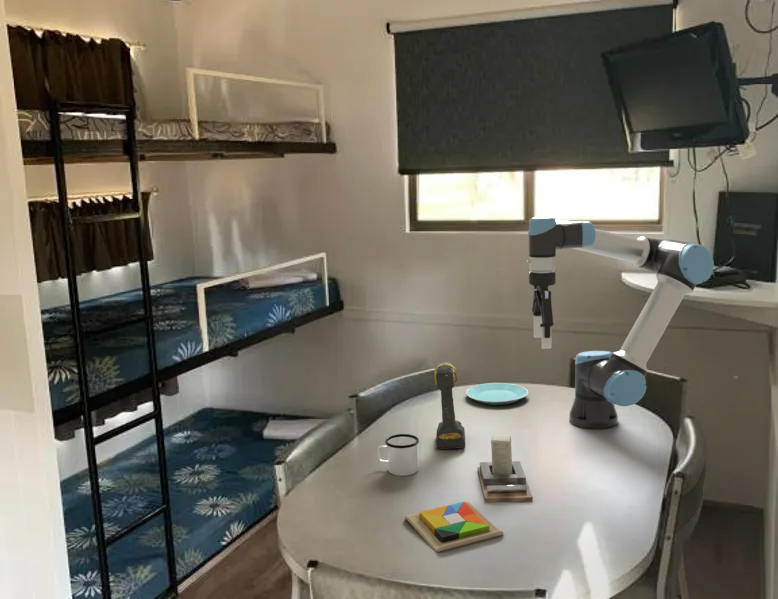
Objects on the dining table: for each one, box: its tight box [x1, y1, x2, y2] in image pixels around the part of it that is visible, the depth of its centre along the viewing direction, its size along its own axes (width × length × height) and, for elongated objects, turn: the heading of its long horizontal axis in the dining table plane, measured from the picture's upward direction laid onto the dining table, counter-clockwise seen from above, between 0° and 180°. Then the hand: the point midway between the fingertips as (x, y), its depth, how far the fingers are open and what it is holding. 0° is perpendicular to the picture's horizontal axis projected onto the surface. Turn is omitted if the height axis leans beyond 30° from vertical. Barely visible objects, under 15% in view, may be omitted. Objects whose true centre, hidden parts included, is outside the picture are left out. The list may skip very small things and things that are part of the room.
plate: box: [465, 382, 529, 406], centre depth 277 cm, size 22×22×3 cm
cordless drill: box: [433, 361, 466, 450], centre depth 236 cm, size 9×20×25 cm, turn 174°
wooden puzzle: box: [404, 501, 504, 553], centre depth 182 cm, size 18×19×4 cm
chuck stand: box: [477, 460, 533, 503], centre depth 205 cm, size 12×20×3 cm, turn 179°
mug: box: [377, 433, 420, 477], centre depth 217 cm, size 12×10×9 cm
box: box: [490, 434, 513, 475], centre depth 207 cm, size 5×4×11 cm
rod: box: [487, 485, 527, 493], centre depth 198 cm, size 10×2×2 cm, turn 89°
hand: (542, 342), depth 225 cm, fingers open, 13 cm apart
